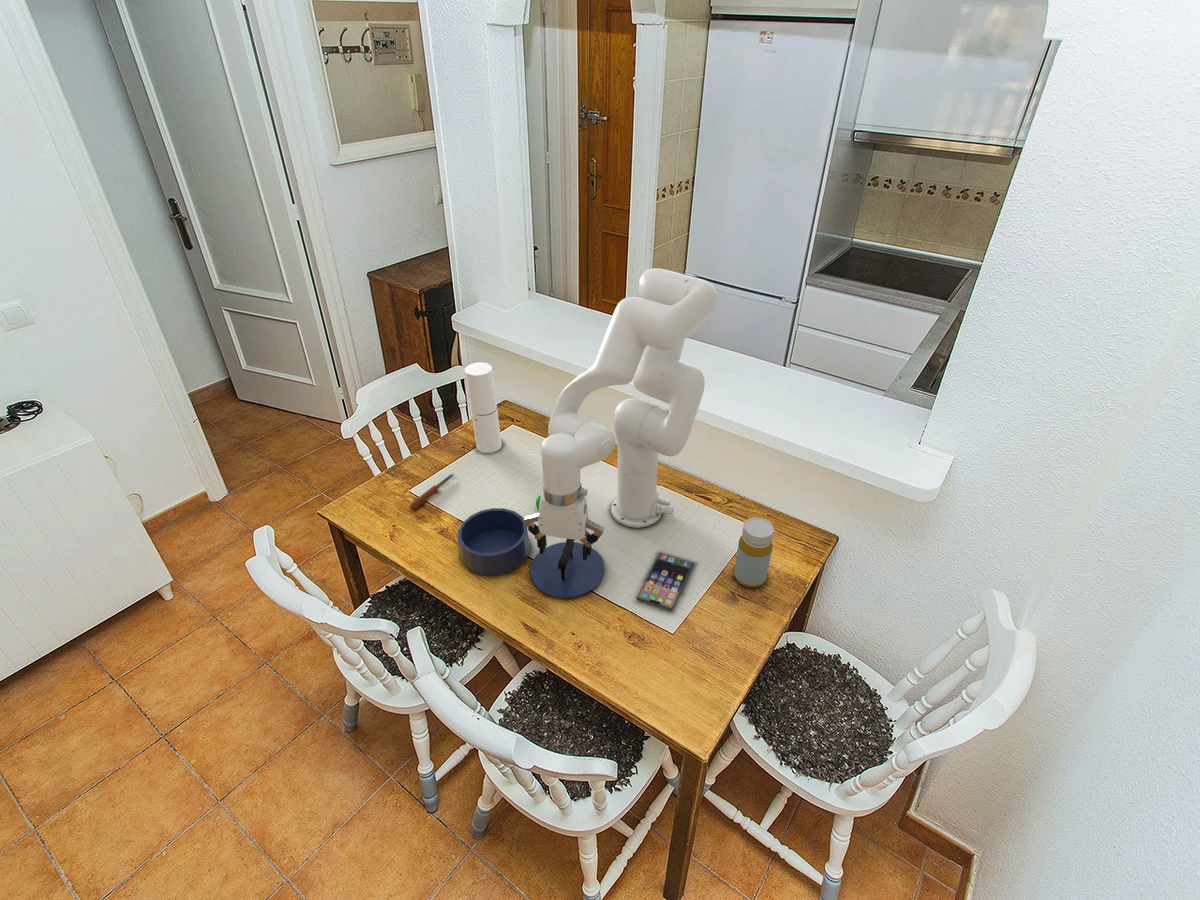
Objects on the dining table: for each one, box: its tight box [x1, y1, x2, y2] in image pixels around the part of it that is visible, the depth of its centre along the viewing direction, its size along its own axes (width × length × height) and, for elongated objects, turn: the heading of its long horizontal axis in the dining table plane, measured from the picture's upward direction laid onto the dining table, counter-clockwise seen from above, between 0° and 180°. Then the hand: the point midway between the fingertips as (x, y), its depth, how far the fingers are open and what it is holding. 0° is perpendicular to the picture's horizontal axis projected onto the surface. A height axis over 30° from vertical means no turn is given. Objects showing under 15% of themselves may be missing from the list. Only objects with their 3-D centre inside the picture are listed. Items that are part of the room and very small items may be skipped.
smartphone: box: [635, 552, 695, 612], centre depth 138 cm, size 8×15×1 cm, turn 156°
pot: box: [457, 507, 530, 577], centre depth 145 cm, size 16×16×6 cm
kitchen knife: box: [409, 473, 455, 510], centre depth 164 cm, size 16×1×2 cm, turn 149°
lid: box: [529, 538, 605, 599], centre depth 140 cm, size 17×17×6 cm
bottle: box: [733, 516, 775, 588], centre depth 135 cm, size 7×7×15 cm
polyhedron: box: [535, 494, 541, 510], centre depth 157 cm, size 5×5×5 cm
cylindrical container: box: [464, 361, 502, 454], centre depth 174 cm, size 7×7×25 cm
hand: (564, 552), depth 138 cm, fingers open, 9 cm apart
